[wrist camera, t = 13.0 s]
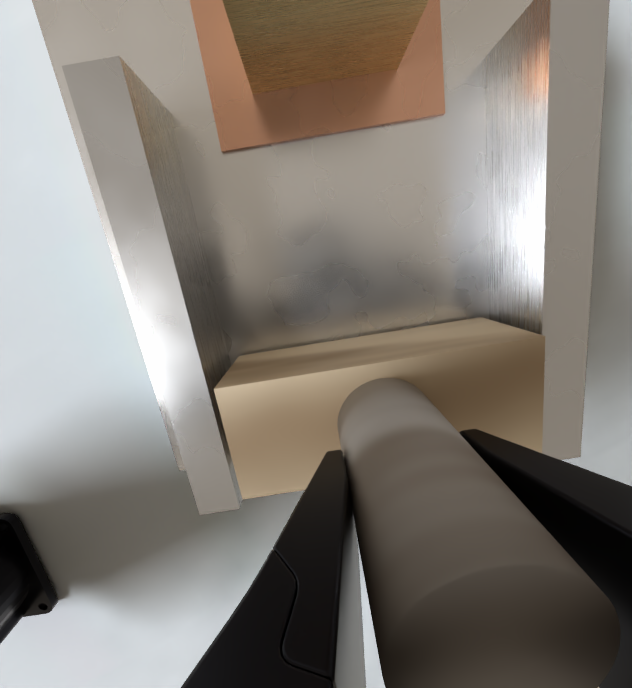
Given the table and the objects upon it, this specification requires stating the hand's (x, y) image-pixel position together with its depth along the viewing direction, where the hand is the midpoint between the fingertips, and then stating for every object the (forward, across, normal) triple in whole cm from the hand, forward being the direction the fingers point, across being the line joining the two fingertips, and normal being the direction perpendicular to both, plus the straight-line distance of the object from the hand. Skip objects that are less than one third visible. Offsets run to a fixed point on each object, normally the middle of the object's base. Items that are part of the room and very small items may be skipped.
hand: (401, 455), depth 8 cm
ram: (+5, 0, 0) cm, 5 cm away
